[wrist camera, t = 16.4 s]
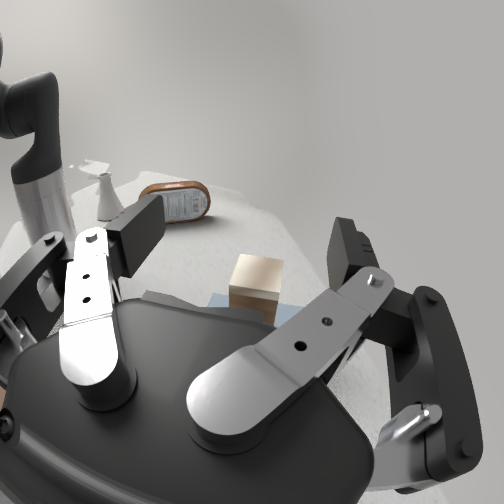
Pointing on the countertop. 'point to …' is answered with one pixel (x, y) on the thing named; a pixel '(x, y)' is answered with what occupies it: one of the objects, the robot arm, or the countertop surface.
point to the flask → (108, 199)
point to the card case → (256, 285)
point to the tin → (181, 200)
